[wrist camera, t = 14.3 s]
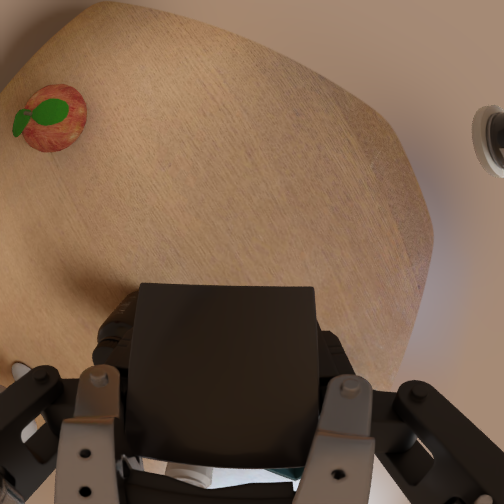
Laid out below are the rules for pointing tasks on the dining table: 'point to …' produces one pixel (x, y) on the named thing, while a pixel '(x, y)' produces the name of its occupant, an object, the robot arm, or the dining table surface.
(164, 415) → the block
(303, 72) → the dining table surface
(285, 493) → the robot arm
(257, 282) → the dining table surface
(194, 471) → the can
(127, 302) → the supplement bottle
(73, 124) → the fruit
